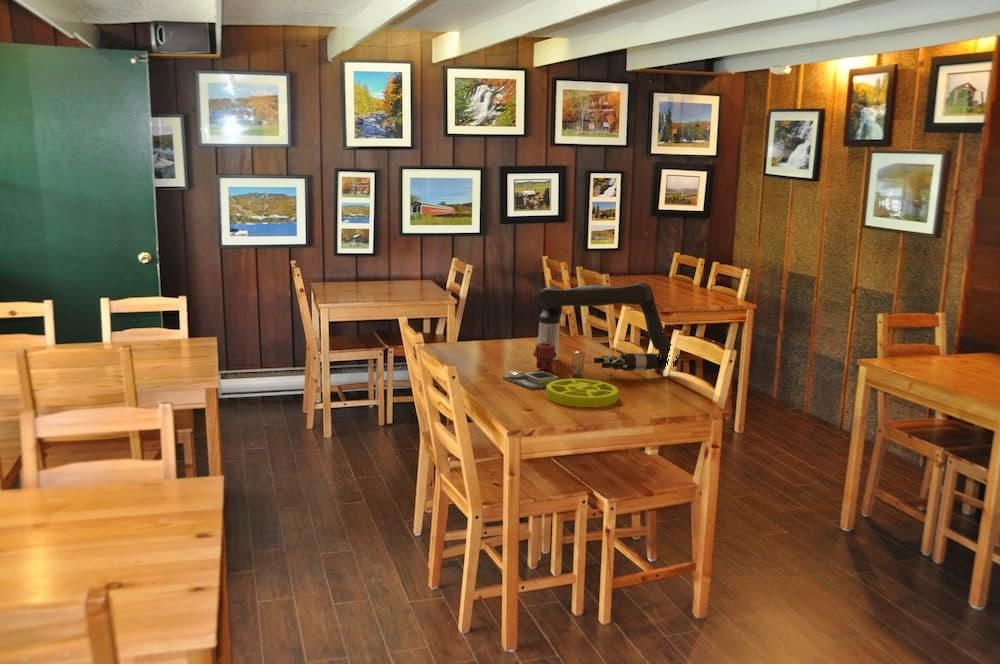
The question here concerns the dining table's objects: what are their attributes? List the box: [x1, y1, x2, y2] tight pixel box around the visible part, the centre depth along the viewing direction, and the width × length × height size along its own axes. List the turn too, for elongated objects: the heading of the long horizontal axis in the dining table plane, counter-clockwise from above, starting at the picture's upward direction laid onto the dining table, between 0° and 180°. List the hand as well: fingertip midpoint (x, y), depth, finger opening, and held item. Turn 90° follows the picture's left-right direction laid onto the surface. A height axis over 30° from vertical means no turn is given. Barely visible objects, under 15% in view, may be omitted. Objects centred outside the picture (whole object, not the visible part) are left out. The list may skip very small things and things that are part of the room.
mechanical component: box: [533, 342, 556, 372], centre depth 387 cm, size 12×10×10 cm
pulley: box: [545, 378, 619, 408], centre depth 347 cm, size 28×28×5 cm
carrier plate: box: [502, 370, 559, 390], centre depth 368 cm, size 20×16×3 cm
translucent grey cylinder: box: [569, 350, 586, 379], centre depth 373 cm, size 6×6×12 cm
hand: (598, 363), depth 376 cm, fingers open, 8 cm apart
